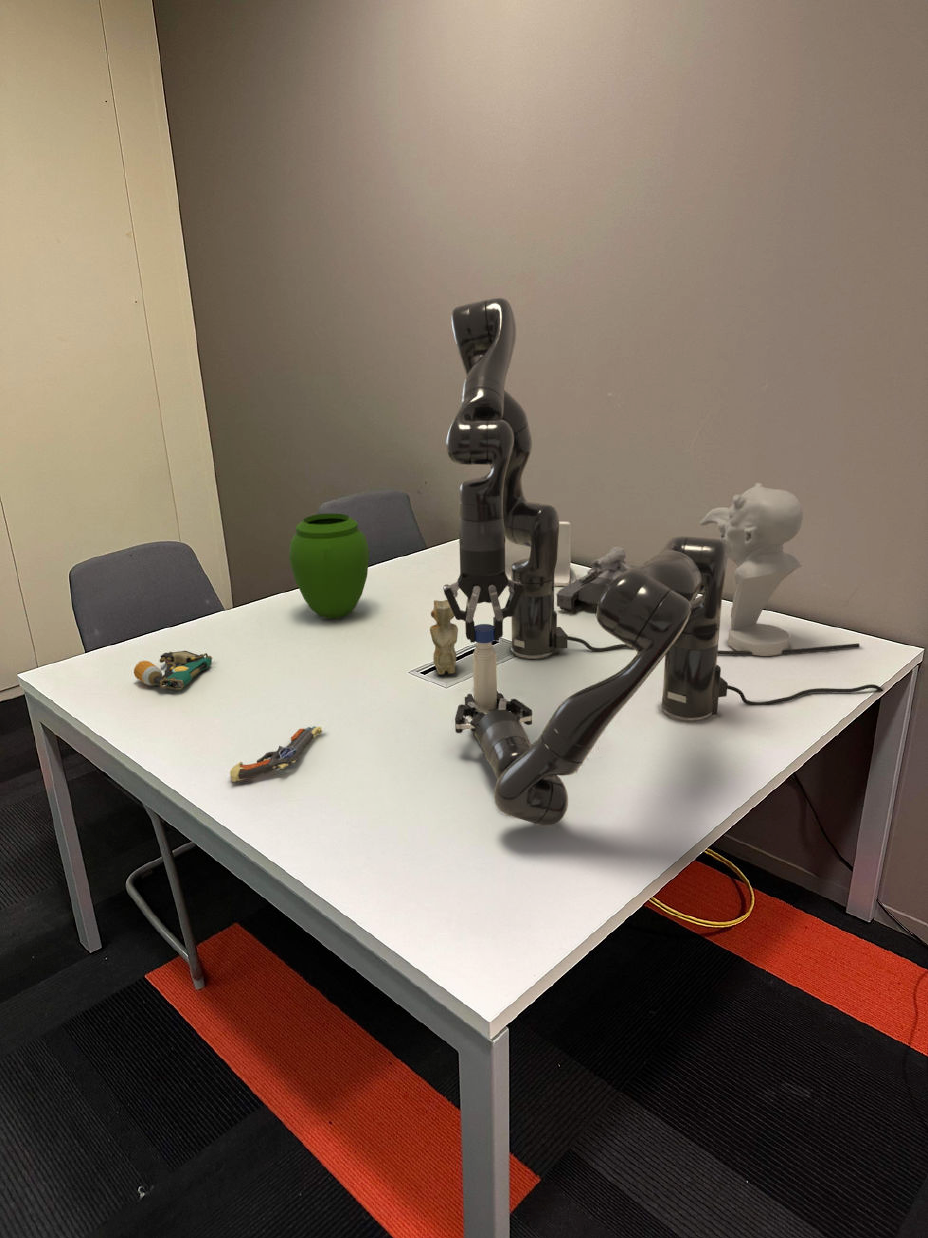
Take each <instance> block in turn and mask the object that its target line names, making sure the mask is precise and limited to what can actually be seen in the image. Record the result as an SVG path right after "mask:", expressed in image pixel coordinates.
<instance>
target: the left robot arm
mask: <svg viewBox="0 0 928 1238" xmlns="http://www.w3.org/2000/svg"><path fill="white" fill-rule="evenodd" d="M450 316H451V317H450V321H451V322H450V323H451V330H452V334H453V338H454V342H455V345H456V349H457V352H458V355H459V357H460V360H461V364H462V366H463V369H464V373H465V375H466V376H465V378H464V381H463V384H462V390H461V402H460V407H459V410H458V412H457V414H455V417H454V418H453V420H452V422H451V424H450V427H449V428H448V431H447V435H446V441H445V447H446V452H447V455H448V457H449V459H450V460H451V461H452V462H453V463H455V464H456V465H458V466H490V471H488V473H487V474H485V475H483V476H479V477H474V478H471V479H468V480H464V481H463V482H462V483H461V484H460V486H459V517H460V518H459V528H458V543H459V576H458V578H457V581H456V582H454V583H451V584H448V583H447V584H444V585H443V587H442V589H443V594H444V596H445V598H446V600H448V602H449V605H450V607H451V609H452V611H453V614H454V618H455V620H456V621H464V622H465V623H464V624H465V625H464V626H465V637H466V639H467V641H468V640H469V642H470V643H471V644H472V643H476V642H475V626H476V625H475V621H474V618H475V613H476V611H477V607H478V604H482V603H487V604H491V607H492V611H493V615H494V616H493V618H492V625H493V626H494V628H495V640H494V642H499V641H500V638H503V636H504V622H503V621H504V619H506V618H508V617H509V618H511V621H510V622H511V643H510V644H511V647H510V651H511V653H512V655H513V656H515V657H518V658H521V659H525V660H526V659H527V660H540V659H545V658H548V657H550V656H552V655H557V654H558V653H557V650H562V649H564V650H565V649H568V645H569V643H568V641H571V642H576V643H580V644H582V645H584V646H585V648H587V649H588V650H590V651H592V652H598V653H599V652H607V651H612V650H615V649H616V650H617V649H627V648H628V649H632V648H631V647H630V646H628V645H627V644H625V643H619V644H614V645H610V646H605V647H595V646H592V645H590V643H589V642H588V641H586V640H584V639H582V638H579V637H574V636H568V634H567V633H566V631H565V630H564V629H563V628H562V627H561V626H558V613H557V612H556V611H555V586H554V572H555V567H556V563H557V555H558V538H559V522H560V520H559V518H560V517H559V514H558V511H557V509H556V508H555V507H554V506H553V505H551V504H547V503H541V502H540V503H539V502H532V501H528V500H527V499H526V498H525V494H524V490H523V484H522V477H523V473H524V471H525V468H526V466H527V464H528V462H529V459H530V457H531V453H532V448H533V441H532V435H531V431H530V425H529V421H528V418H527V414H526V411H525V410H524V408H523V407H522V405H521V403H519V402H518V400H516V399H515V397H513V396H512V395H511V394H510V393H509V392H507V390H505V385H506V380H507V375H508V372H509V369H510V365H511V361H512V358H513V353H514V350H515V346H516V339H517V326H516V325H517V324H516V320H515V314H514V311H513V308H512V305H511V304H510V302H509V301H508V300H507V299H506V298H504V297H492V298H489V299H483V300H479V301H474V302H470V303H465V304H462V305H458V306H456V307H454V308H453V309H452V312H451V315H450ZM506 538H507V540H508V541H510V542H511V543H514V544H518V545H523V546H528V547H531V551H530V558H526V559H522V560H519V561H516V562H515V563H513V565H512V567H511V580H509V579H508V578H507V576H506V573H505V542H506ZM507 587H508V588H507ZM506 588H507V590H508V592H509V595H508V598H507V599H506V603H505V606H504V607H503V608H502V607H501V603H500V600H499V598H500V596H501V595H502V593H503V592H504V590H505V589H506ZM459 589H460V590H461V592H462V593H463V594H464V595H465V597H467V598H466V606H465V610H462V609H461V607H460V605H459V604H458V601H457V599H456V598H457V597H458V595H459V593H458V591H459ZM853 648H855V649H856V648H860V643H847V644H837V645H828V646H827V645H826V646H825V645H824V646H816V647H805V648H791V649H790V648H789V649H788V650H783V651H782V652H781V653H782V654H781V655H784V654H799V653H810V652H821V651H832V650H842V649H843V650H845V649H853ZM752 654H753V653H752V652H750V651H737V650H719V649H718V654H717V655H725V656H726V655H728V656H729V655H730V656H731V655H732V656H733V655H734V656H749V655H750V656H753V655H752Z"/></svg>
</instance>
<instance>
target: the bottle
mask: <svg viewBox="0 0 928 1238" xmlns="http://www.w3.org/2000/svg"><path fill="white" fill-rule="evenodd" d="M497 658H498V657H497V652H496V650H495V648H494V646H493V642H491V643H477V642H476V646H475V647H474V651H473V653H472V681H473V682H472V686H473V698H474V700H475V704H477V705H481V706H482V707H483V708H485V709H486V710H492V709H497V691H498V670H497V669H498V666H497V665H498V663H497V661H498V659H497ZM474 737H475V738H476V739H477V736H476V734H475V733H474Z"/></svg>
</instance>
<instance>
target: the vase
mask: <svg viewBox="0 0 928 1238" xmlns="http://www.w3.org/2000/svg"><path fill="white" fill-rule="evenodd" d="M358 524H359V523H358V521H356V520H355V519H353V518H352V517H350V516H349V515H347V514H344V513H335V512H334V513H333V512H331V513H320V514H313V515H310V516H307V517H305V518H303V519H302V520H301V521H300V522H299V523H298V524H297V525H296V526H295V532H296V533H295V534H294V536H293V537H292V538H291V540H290V542H289V551H288V559H289V564H290V566H291V567H290V568H291V570H292V575H293V578H294V581H295V584H296V586H297V587H298V589H299V591H300V593H301V596H302V597H303V600H304V601H305V603H306V604H307V605H308V607H309V608H310V609H311V611H312V612H314V613H315V614H316V615H317V616H318V617H320V618H324V619H326V620H327V619H329V620H336V619H341V618H345V617H347V616H349V615H350V614H351V613H352V612H353V611H354V610H355V608H356V607H357V605H358V604H359V601H360V599H361V597H362V595H363V592H364V588H365V586H366V581H367V578H368V570H369V561H370V560H369V559H370V548H369V545H368V541H367V537H366V535H365V534H364V533H363V532H362V531H361V530H360V529H359V527H358Z"/></svg>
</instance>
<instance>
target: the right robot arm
mask: <svg viewBox="0 0 928 1238" xmlns="http://www.w3.org/2000/svg"><path fill="white" fill-rule="evenodd" d="M727 565H728V557H727V547H726V544H725V543H724V541H722V540H719V538H708V537H706V538H705V537H697V536H675V537H672V538H671V539H669V540H668V541H667V543H666V544H665V545H664V547H662V549H661V551H660V552H659V553H658V554H657V555H655V556H653V557H651V558H650V559H648V560H647V561H646V562H645V563H643V564H642V565H639V566H636V567H634V568H631V569H628V570H626V571H625V572H623V573H622V574H620V575H619V576H618V577H617V578H615V579H614V580H613V581H612V582H611V583H610V585H609V586H608V587H607V588H606V590H605V591H604V593H603V594H602V596H601V598H600V600H599V603H598V605H596V606H597V607H596V613H595V614H596V615H595V617H596V620H597V623H598V624H599V626H600V627H601V628H602V629H603V630H604V631H605V632H607V633H608V634H610V635H611V636H613V637H614V638H616V639H618V640H619V641H620V642H622V643H623V644H627V645H628V646H630V647H631V648H630V649H633V650H634V651H636V655H635V656H634V657H633V659H631V661H630V662H628V663H627V665H626V666H625V667H623V668H622V669H620V670H619V671H618V672H616V673H615V674H613V675H611V676H609V677H607V678H605V679H603V680H601V681H598V682H597V683H595V684H592V685H589V686H587V687H585V688H583V689H581V690H579V691H576V692H574V693H573V694H571V695H569V696H568V697H567V698H566V699H564V700H563V701H562V702H561V703H560V704H559V705H558V707H557V708H556V709H555V711H554V712H553V714H552V715H551V717H550V719H549V720H548V722H547V723H546V725H545V727H544V728H543V730H542V731H541V733H540V735H539V737H538V738H537V739H536V741H535V742H534V743H531V740H530V738H529V736H528V734H527V732H526V730H525V728H524V727H523V725H522V724H525V725H527V726H531V725H533V710H532V709H531V708H530V707H528V705H525V704H524V703H523V702H521V701H520V700H518V699H517V698H511V699H510V700H508V699H507V698H505V696H504V694H503V693H501V692H499V691H498V690H497V709H492V710H486V709H485V708H483V707H482V706H481V705H477V704H475V700H474V695H473V694H472V693H466V696H464V704H463V703H462V704H458V706H457V710H456V713H455V717H454V731H455V733H456V734H462V733H463V731H464V730H470V731H471V732H472V734H474V735H475V734H476V736H477V738H476V739H477V741H478V743H479V746H480V749H481V750H482V754H483V756H485V757H484V758H485V759H486V761H487V762H488V764H489V765H490V766H491V769H492V771H493V773H494V775H495V777H496V779H497V781H496V783H495V787H494V791H493V798H494V804H495V806H496V808H497V809H498V810H499V812H501V813H503V814H505V815H506V816H509V817H513V818H515V819H516V818H517V819H519V820H521V821H525V822H528V823H531V824H534V825H537V826H541V827H552V826H554V825H557V824H558V823H560V822H561V821H562V820H563V819H564V817H565V815H566V814H567V810H568V807H569V795H568V790H567V788H566V785H565V783H564V781H563V780H562V779H561V778H560V776H561V777H562V776H567V777H568V776H572V775H574V774H576V773H577V772H578V771H579V769H581V766H582V765H583V764H584V762H585V761H586V759H587V757H588V756H589V754H590V753H591V751H592V750H593V748H594V747H595V745H596V744H597V742H598V741H599V739H600V738H601V736H602V734H603V733H604V732H605V730H606V729H607V727H608V726H609V725H610V723H611V722H612V721H613V719H614V718H615V717H616V716H617V715H618V713H619V712H620V711H621V710H622V709H623V708H624V707H625V705H626V704H628V702H629V701H630V700H631V698H632V697H634V695H635V694H636V693H637V691H638V690H639V689H640V688H641V686H642V685H643V684H644V683H645V681H646V680H647V679H648V678H649V676H650V675H651V674H652V672H653V671H654V670H655V669H656V668H657V667H658V665H659V664H660V663H661V661H662V660H663V659H664V665H663V680H662V682H663V683H662V697H661V706H660V708H661V709H660V710H661V712H662V713H663V714H664V715H665V716H667V717H668V718H671V719H673V720H677V721H681V722H690V723H691V722H702V721H706V720H708V719H710V718H711V717H712V716H717V715H718V709H719V698H723V697H724V698H725V697H728V695H727V694H728V690H730V691H733V692H735V693H736V694H738V695H739V697H740V699H741V700H742V702H743V703H744V704H746V705H749V706H770V705H774V704H778V703H784V702H788V701H792V700H795V699H797V698H799V697H801V696H804V695H806V694H813V693H856V692H860V691H864V690H867V689H875V690H876V691H878V692H884V689H883V688H882V687H880V686H879V685H877V684H874V683H873V684H865V685H862V686H861V685H860V686H858V687H851V688H833V687H832V688H831V687H827V688H826V687H819V688H810V689H803V690H801V691H798V692H797V693H794V694H793V695H789V696H786V697H781V698H776V699H771V700H767V701H751V700H748V699H747V698H746V696H745V694H744V692H743V691H742V690H741V689H739V688H738V687H735V686H732V685H729V684H728V682H727V681H726V680H725V679H724V678H723V677H721V674H722V673H721V672H722V671H721V670H722V668H721V666H720V665H719V664H717V663H718V655H719V654H718V650H719V639H720V630H721V629H720V628H721V627H720V626H721V617H722V616H721V615H722V602H723V593H724V587H725V586H724V585H725V579H726V574H727V573H726V572H727ZM700 592H702V593H703V594H702V595H700V596H698V595H699V593H700ZM697 596H698V597H697ZM466 717H468V718H469V719H470V721H469V720H468V718H466Z"/></svg>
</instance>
